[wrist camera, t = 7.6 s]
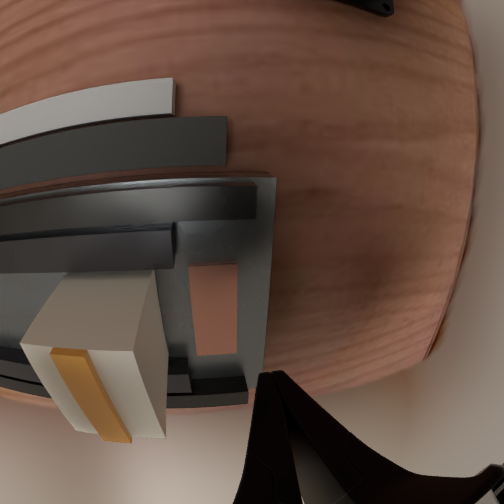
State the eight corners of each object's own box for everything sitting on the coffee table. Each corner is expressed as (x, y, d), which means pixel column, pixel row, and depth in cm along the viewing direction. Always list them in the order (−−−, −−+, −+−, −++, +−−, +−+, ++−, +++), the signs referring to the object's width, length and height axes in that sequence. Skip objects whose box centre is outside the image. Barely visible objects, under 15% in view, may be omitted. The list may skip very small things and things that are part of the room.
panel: (267, 172, 12) (285, 183, 10) (256, 369, 17) (265, 402, 14) (-78, 216, 8) (-100, 230, 5) (-27, 353, 13) (-40, 373, 10)
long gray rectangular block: (224, 83, 10) (228, 74, 8) (222, 160, 11) (225, 165, 10) (-73, 156, 6) (-90, 161, 5) (-69, 205, 8) (-85, 214, 6)
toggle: (153, 266, 11) (131, 359, 6) (168, 354, 13) (166, 444, 8) (69, 268, 10) (15, 349, 6) (97, 353, 12) (74, 435, 8)
